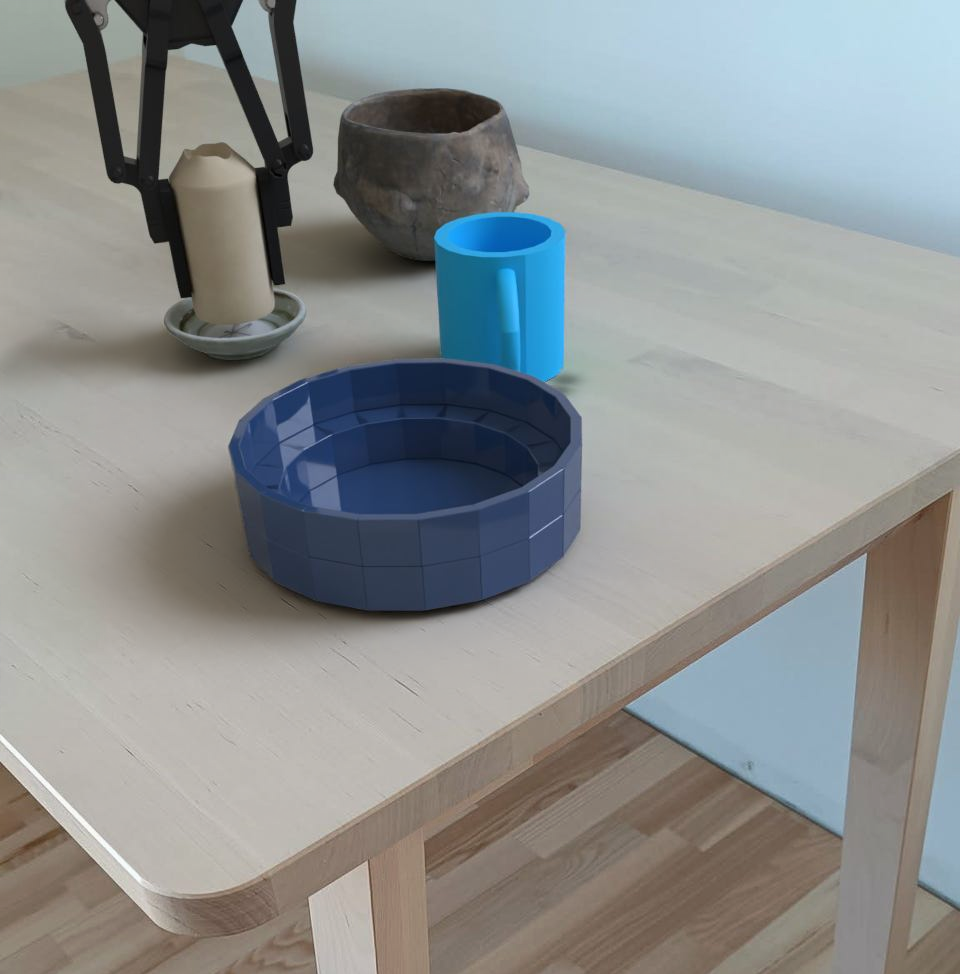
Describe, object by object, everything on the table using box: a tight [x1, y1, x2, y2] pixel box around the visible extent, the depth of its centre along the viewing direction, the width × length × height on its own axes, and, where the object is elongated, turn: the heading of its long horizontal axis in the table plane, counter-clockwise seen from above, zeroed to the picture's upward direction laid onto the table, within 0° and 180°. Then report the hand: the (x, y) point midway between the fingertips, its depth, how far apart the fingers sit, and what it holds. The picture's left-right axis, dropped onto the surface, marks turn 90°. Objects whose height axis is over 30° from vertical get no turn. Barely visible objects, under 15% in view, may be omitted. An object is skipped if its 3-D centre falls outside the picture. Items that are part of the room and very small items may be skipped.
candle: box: [168, 141, 275, 325], centre depth 83 cm, size 6×6×10 cm
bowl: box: [332, 87, 530, 262], centre depth 97 cm, size 14×15×10 cm
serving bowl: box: [227, 357, 583, 612], centre depth 68 cm, size 18×18×6 cm
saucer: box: [163, 287, 307, 361], centre depth 87 cm, size 10×10×2 cm
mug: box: [434, 211, 566, 383], centre depth 80 cm, size 12×8×8 cm
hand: (230, 283), depth 85 cm, fingers closed on candle, 5 cm apart
